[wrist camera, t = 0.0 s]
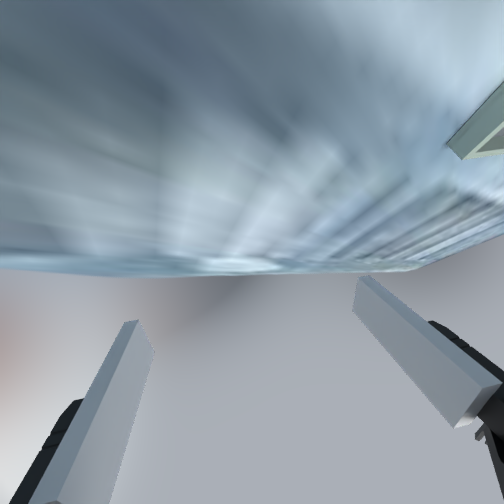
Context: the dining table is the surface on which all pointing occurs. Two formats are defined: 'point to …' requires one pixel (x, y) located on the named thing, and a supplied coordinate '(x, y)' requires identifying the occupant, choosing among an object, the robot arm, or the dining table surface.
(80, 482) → the robot arm
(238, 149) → the dining table surface
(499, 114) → the bay tray
